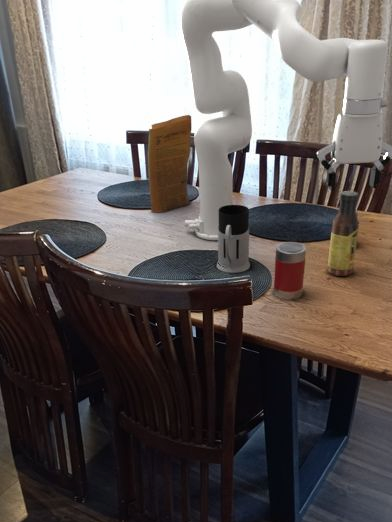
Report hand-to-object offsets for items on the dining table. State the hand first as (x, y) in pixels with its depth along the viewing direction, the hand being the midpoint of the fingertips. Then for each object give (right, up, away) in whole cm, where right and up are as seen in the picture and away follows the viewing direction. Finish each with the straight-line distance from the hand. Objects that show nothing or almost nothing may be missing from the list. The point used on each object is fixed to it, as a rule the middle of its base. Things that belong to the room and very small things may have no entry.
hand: (351, 187), depth 122 cm
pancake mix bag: (-44, +11, +57) cm, 73 cm away
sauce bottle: (0, -18, +12) cm, 21 cm away
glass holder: (-27, -17, +15) cm, 35 cm away
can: (-14, -24, +3) cm, 28 cm away
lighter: (+7, -7, +27) cm, 29 cm away
